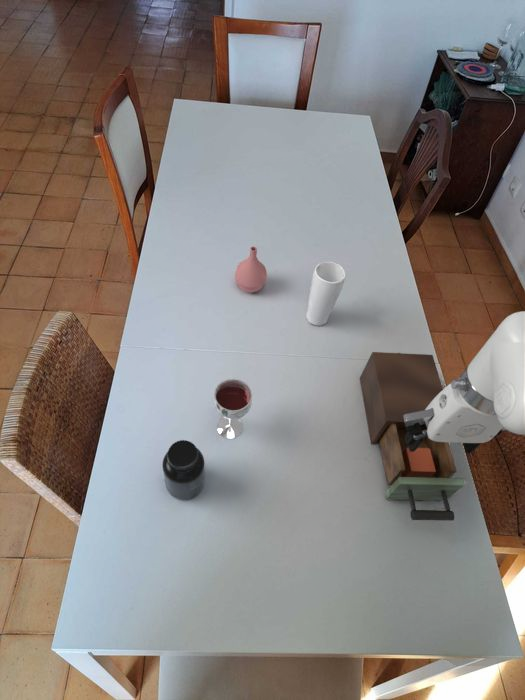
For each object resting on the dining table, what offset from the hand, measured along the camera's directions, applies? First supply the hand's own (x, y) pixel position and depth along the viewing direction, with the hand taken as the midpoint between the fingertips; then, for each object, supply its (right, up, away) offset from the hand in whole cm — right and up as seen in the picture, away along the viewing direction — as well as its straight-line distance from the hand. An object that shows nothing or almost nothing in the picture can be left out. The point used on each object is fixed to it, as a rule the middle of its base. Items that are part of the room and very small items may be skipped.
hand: (437, 444), depth 75 cm
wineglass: (-35, +1, +13) cm, 38 cm away
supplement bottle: (-43, -8, +6) cm, 44 cm away
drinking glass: (-16, +23, +33) cm, 43 cm away
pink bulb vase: (-32, +31, +37) cm, 58 cm away
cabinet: (-2, +3, +19) cm, 20 cm away
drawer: (-1, -8, +10) cm, 13 cm away
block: (-1, -7, +9) cm, 12 cm away
